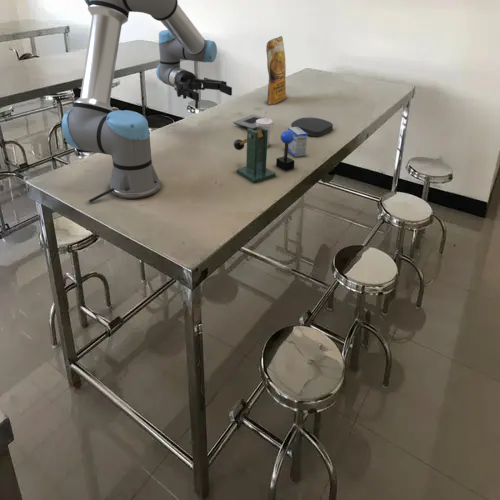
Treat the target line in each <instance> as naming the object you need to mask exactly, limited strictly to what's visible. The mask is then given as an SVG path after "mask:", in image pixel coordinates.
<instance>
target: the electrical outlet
mask: <svg viewBox="0 0 500 500" xmlns="http://www.w3.org/2000/svg"><path fill="white" fill-rule="evenodd" d="M262 118H264V117H263V116H260V115H256V114H251V115H248V116H244V117H241V118H240V119H238V120H235V121H232V123H233V124H234V125H236V126H240V127H242V128H245V129H249V128H250V129H252V130H255V129H257V125H256V120H257V119H262ZM266 119H268V118H267V117H266Z"/></svg>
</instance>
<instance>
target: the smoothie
mask: <svg viewBox="0 0 500 500" xmlns="http://www.w3.org/2000/svg"><path fill="white" fill-rule="evenodd" d="M267 112H268V111H267V108H264V117H263V118H262V119H257V120H256V125H257V126H261V127H263V128H265V129H267V130H268V137H267V148H268V147H269V144H270V143H269V142H270V139H271V138H270V137H271V131H272V127H273V124H274V121H273V119H270V118H267ZM266 118H267V119H266Z"/></svg>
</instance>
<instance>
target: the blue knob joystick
mask: <svg viewBox="0 0 500 500" xmlns="http://www.w3.org/2000/svg"><path fill="white" fill-rule="evenodd" d="M293 138H294V136H293V133H292V132H290V131H288V130H284V131H282V132H281V134H280V141H281V142H282V143H283V144H284V150H283V156H279V157H276V160H275V167H277V168H278V169H280V170H282V171H284V172H287V171H290V170H294V169H295V160H294V159H292V158H290V157H289V155H288V154H289V151H288V144H289V143H291V142H292V141H293Z"/></svg>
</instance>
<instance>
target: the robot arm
mask: <svg viewBox="0 0 500 500" xmlns="http://www.w3.org/2000/svg"><path fill="white" fill-rule="evenodd" d="M84 2H85V4H86V5H87V11H88V12H89V14H90V16H91V23H90V28H89V36H88V43H87V49H86V55H85V63H84V68H83V74H82V82H81V89H80V94H79V95H80V97H79V98H78V99H75V100H74V101H73V106H72V108H70V109H67V110H66V111H65V113H64V114H63V116H62V119H61V131H62V132H61V133H62V136H63V137H64V139H65V141H66V143H67V144H68V145H69V146H70V147H72V148H73V149H76V150H80V151H82V152H91V153H96V154H101V155H107V156H108V155H109V156H111V158H112V159H111V161H112V167H113V168H112V172H111V176H110V182H109V189H108V190H106V191H104V192H101V193H100V194H98V195H96V196H94V197H92V198H91V199H89V200H88V202H89V203H92V202H94V201H96V200H98V199H100V198H102V197H103V196H106V195H108V194H110V193H111V194H112V195H114V196H115V197H118V198H122V199H127V200H128V199H129V200H134V199H135V200H136V199H143V198H147V197H150V196H152V195H154V194H156V193H158V191H159V190H160V188H161V184H160V183H161V182H160V181H161V180H160V178H159V176H158V173H157V172H156V170H155V168H154V165H153V159H152V147H151V136H150V135H151V131H150V128H149V123H148V120H147V118H146V117H145V116H144V115H142V114H141V113H139V112H136V111H134V110H127V109H124V110H121V109H119V110H118V109H117V110H114V109H113V108H112V106H111V105H110V104H111V96H112V90H113V84H114V77H115V71H116V64H117V59H118V52H119V45H120V38H121V33H122V28H123V27H122V26H123V25H125V24H126V23H127V22H129V15H130V12H131V13H142V14H146V15H149V16H151V18H153V19H154V20H155V21H159V22H160V23H162V25H163V26H164V27H165V28H166V29H163V30H160V31H159V32H158V49H159V50H158V51H159V64H157V67H156V71H155V72H156V73H155V74H156V76H157V78H158V80H159V81H160V82H162V83H163V84H165V85H168V86H171V87H173V88H174V91H176V96H177V97H178V98H180V97H182V99H183V100H184V99H185V100H186V99H187V98H188V99H191V100H193V101H195V102H199V101H200V97H199V96H200V94H199V92H197V91H198V90H200V91H205V90H214V91H219V92H220V93H223V94H226V95H228V96H233V87H232V86H229V85H228V84H227V83H228V82H227V81H225V80H218V79H212V78H208V77H204V78H202V79H201V78H198V77H197V76H196V74H195V73H193V72H191V71H189V70H187V69H186V68H185V69H184V68H182V67H181V60H182V61H183V60H185V61H191V62H199V63H214V61H215V60H216V58H217V55H218V48H217V46H218V45H217V43H216V42H215V41H214V40H209V39H205V38H204V36H203V34H201V33H200V31H199V30H198V28H197V27H196V26H195V25H194V23H193V22H192V20H191V19H190V17H188V15H187V14H186V12H185V11H184V10H183V9H182V7H181V6H180V5H179V1H178V0H84Z"/></svg>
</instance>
